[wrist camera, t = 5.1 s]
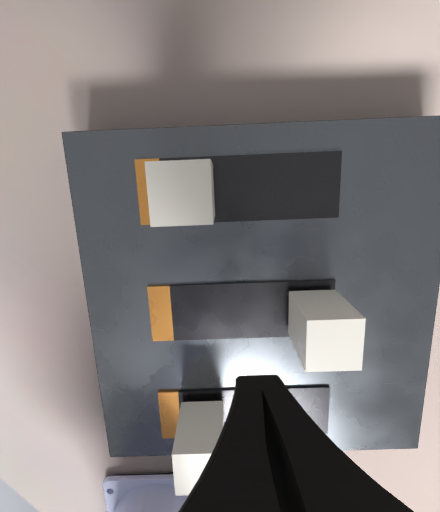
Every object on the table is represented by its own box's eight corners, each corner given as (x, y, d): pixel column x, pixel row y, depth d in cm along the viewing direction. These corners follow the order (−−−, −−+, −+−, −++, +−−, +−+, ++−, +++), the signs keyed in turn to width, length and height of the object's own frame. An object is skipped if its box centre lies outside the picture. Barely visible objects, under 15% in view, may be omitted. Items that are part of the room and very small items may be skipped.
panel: (392, 413, 22) (418, 450, 19) (124, 421, 22) (109, 458, 19) (422, 125, 17) (464, 114, 14) (87, 140, 18) (60, 131, 15)
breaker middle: (332, 331, 17) (361, 370, 13) (288, 333, 17) (305, 372, 13) (335, 289, 16) (365, 318, 13) (288, 291, 16) (307, 320, 13)
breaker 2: (224, 435, 18) (225, 494, 15) (184, 436, 18) (175, 495, 15) (223, 400, 18) (223, 453, 14) (181, 402, 18) (171, 454, 14)
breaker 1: (215, 215, 15) (213, 224, 12) (166, 217, 15) (150, 226, 12) (213, 164, 15) (210, 159, 11) (162, 166, 15) (144, 161, 11)
